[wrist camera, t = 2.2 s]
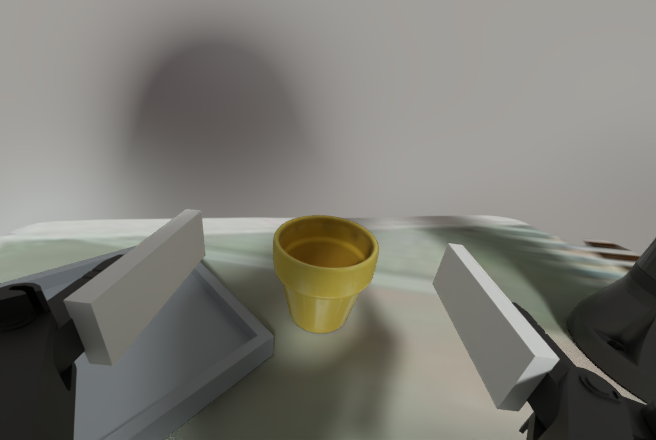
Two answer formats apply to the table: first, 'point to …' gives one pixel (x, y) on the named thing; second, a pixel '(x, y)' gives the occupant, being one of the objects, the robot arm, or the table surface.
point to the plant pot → (323, 268)
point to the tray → (164, 358)
